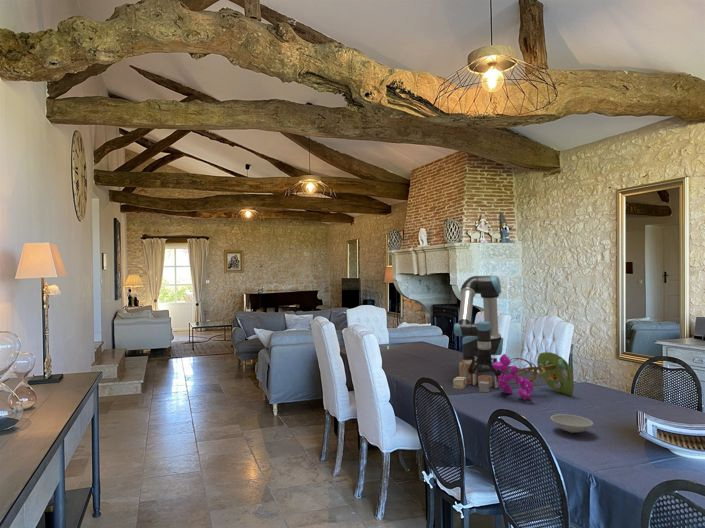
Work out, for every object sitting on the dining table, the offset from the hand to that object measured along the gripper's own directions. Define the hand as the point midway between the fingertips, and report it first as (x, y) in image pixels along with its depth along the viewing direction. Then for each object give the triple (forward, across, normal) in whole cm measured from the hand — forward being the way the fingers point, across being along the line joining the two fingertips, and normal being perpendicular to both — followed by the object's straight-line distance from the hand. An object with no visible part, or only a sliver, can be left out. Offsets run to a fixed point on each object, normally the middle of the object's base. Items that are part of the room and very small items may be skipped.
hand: (485, 386), depth 289 cm
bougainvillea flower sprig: (+1, +28, -9) cm, 30 cm away
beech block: (0, -12, -8) cm, 14 cm away
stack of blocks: (0, -15, +12) cm, 19 cm away
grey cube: (0, +4, -12) cm, 12 cm away
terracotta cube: (0, 0, 0) cm, 0 cm away
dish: (+1, +60, -64) cm, 88 cm away
